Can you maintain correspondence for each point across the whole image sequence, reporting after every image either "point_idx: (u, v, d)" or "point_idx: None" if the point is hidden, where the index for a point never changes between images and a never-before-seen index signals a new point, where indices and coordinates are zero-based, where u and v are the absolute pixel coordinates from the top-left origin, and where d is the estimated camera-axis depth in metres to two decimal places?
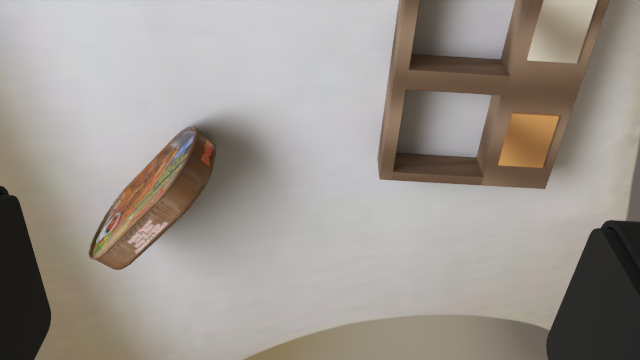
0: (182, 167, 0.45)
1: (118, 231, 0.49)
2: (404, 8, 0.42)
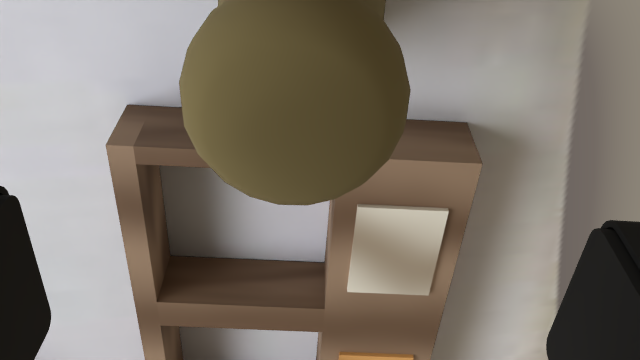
0: None
1: None
2: (121, 223, 0.24)
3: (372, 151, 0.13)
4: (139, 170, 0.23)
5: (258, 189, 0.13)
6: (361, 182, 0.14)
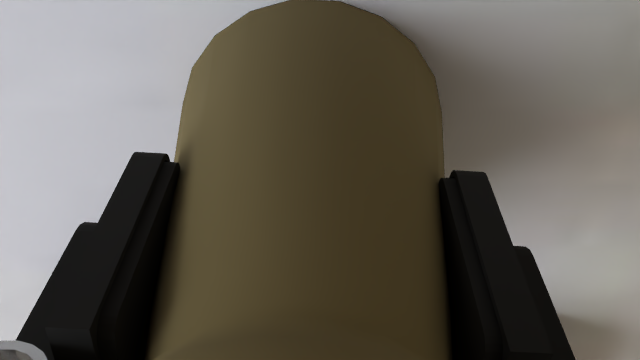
0: None
1: None
2: None
3: None
4: None
5: None
6: None
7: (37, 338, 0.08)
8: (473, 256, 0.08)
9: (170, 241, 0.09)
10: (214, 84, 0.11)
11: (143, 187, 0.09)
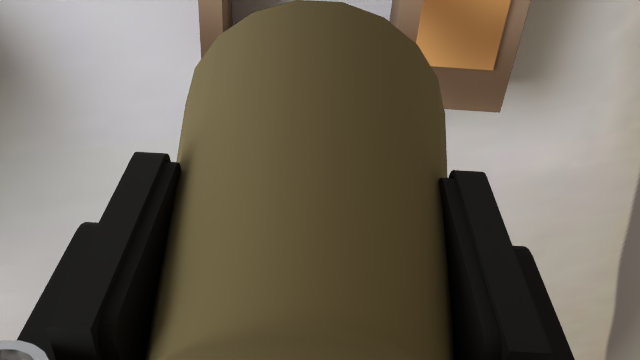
0: None
1: None
2: None
3: None
4: None
5: None
6: None
7: (38, 338, 0.08)
8: (472, 256, 0.08)
9: (172, 242, 0.09)
10: (217, 85, 0.11)
11: (144, 187, 0.09)
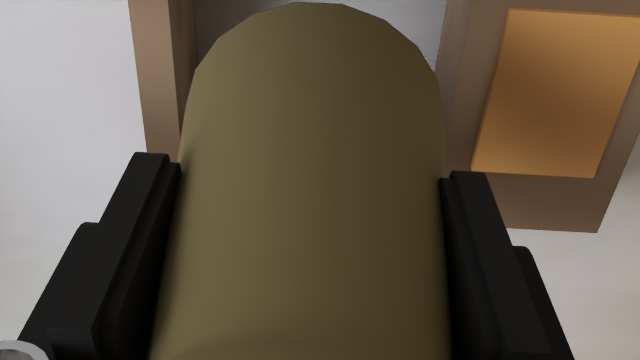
0: None
1: None
2: None
3: None
4: None
5: None
6: None
7: (38, 338, 0.08)
8: (472, 256, 0.08)
9: (172, 244, 0.09)
10: (217, 87, 0.11)
11: (144, 187, 0.09)
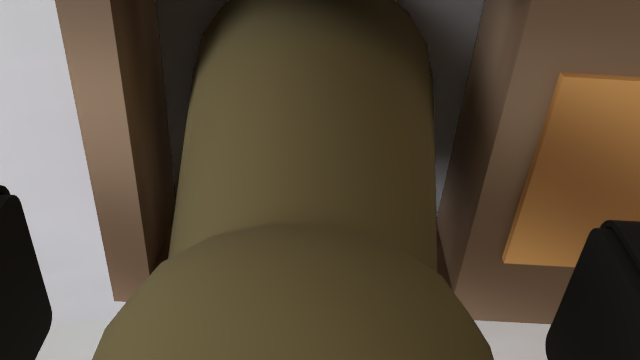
0: None
1: None
2: None
3: None
4: None
5: None
6: None
7: None
8: None
9: (188, 173, 0.10)
10: (226, 43, 0.12)
11: None
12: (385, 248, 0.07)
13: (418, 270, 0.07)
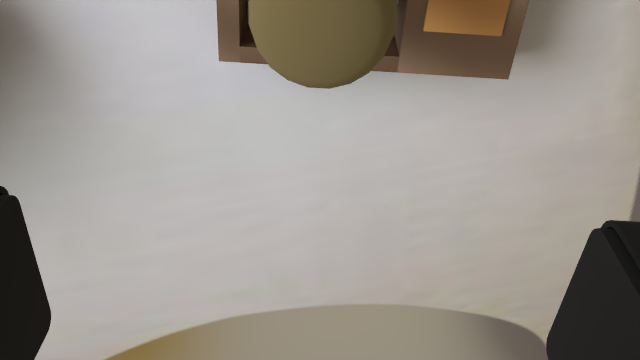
0: None
1: None
2: None
3: (372, 45, 0.20)
4: None
5: (297, 72, 0.21)
6: (365, 70, 0.21)
7: None
8: None
9: None
10: None
11: None
12: None
13: None
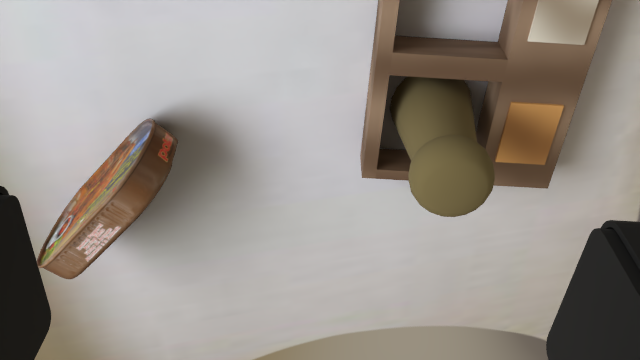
0: (135, 164, 0.40)
1: (67, 236, 0.44)
2: None
3: (482, 197, 0.36)
4: None
5: (438, 210, 0.36)
6: (475, 208, 0.37)
7: None
8: None
9: (415, 128, 0.39)
10: (413, 92, 0.41)
11: None
12: (471, 138, 0.36)
13: (477, 143, 0.36)
